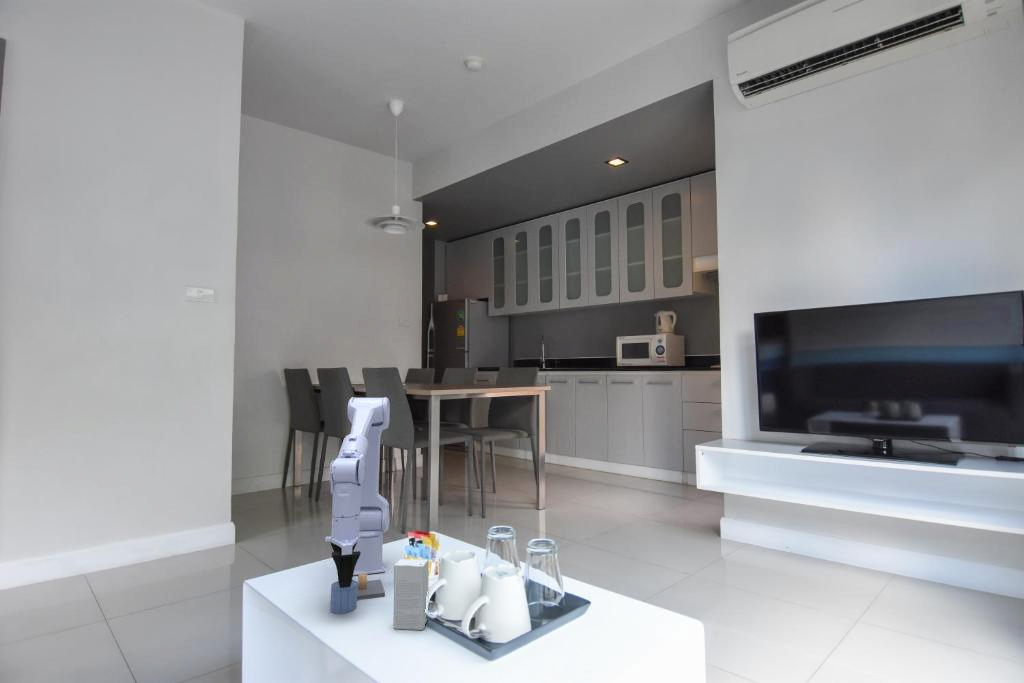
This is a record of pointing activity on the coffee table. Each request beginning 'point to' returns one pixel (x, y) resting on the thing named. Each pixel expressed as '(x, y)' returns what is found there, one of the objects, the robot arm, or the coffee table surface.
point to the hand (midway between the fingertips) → (344, 580)
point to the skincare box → (410, 594)
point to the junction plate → (369, 588)
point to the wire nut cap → (343, 598)
